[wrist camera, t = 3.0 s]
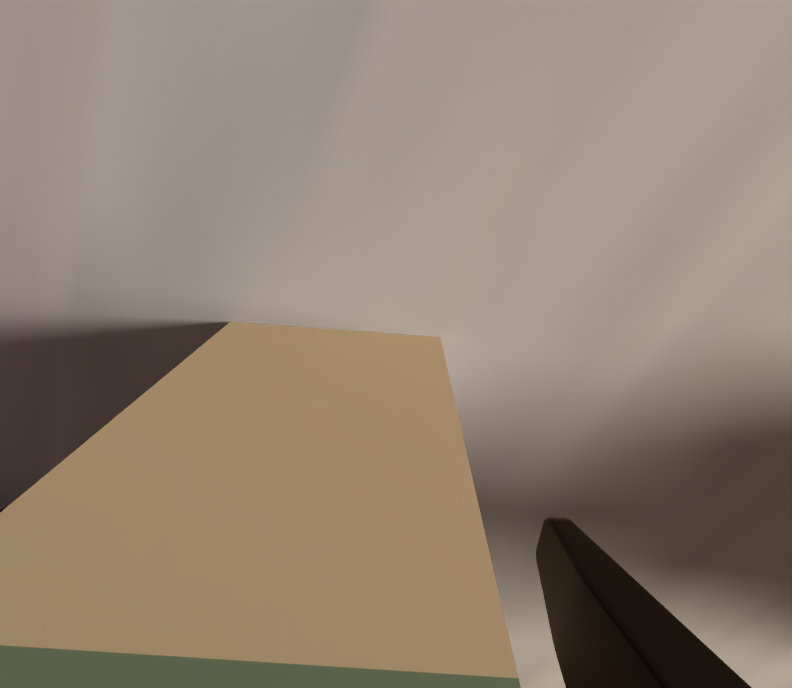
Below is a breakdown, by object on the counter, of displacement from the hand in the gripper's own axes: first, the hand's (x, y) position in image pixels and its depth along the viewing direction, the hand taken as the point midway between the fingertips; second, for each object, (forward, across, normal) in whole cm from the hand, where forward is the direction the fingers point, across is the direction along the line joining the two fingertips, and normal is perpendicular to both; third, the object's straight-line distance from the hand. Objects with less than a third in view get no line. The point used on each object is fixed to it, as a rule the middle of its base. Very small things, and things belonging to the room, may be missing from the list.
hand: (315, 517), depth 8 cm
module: (+2, 0, 0) cm, 2 cm away
